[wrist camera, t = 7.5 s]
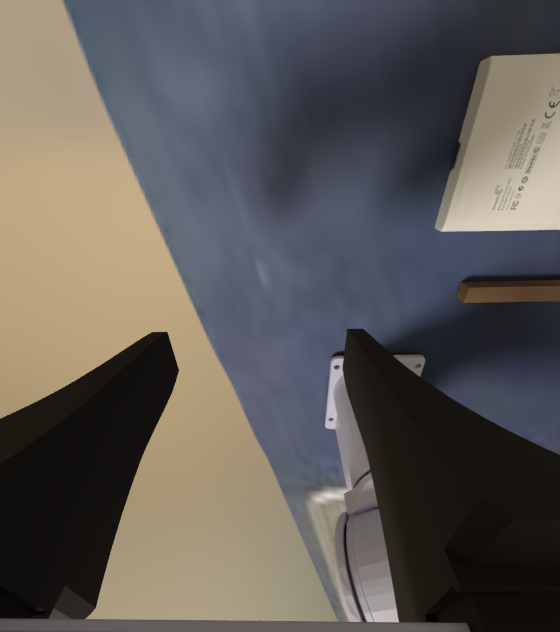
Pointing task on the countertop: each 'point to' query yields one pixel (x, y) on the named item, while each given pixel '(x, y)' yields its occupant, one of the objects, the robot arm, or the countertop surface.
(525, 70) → the external hard drive
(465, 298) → the dock
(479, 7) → the countertop surface
